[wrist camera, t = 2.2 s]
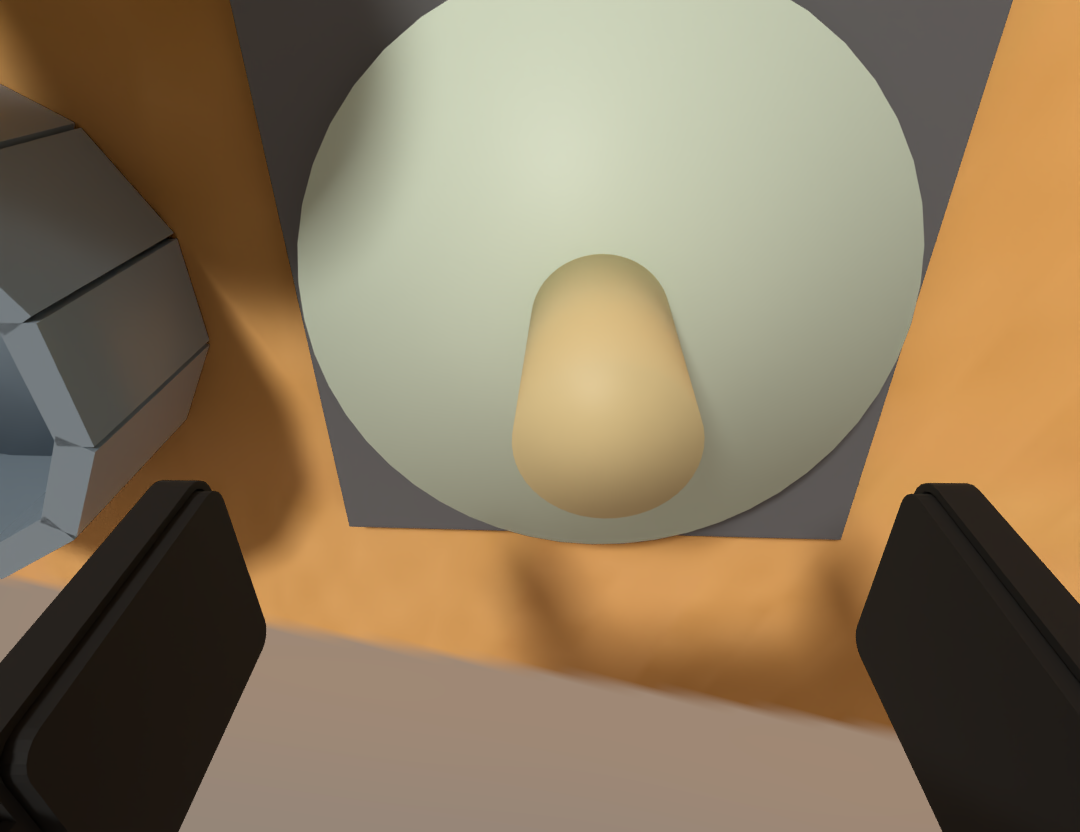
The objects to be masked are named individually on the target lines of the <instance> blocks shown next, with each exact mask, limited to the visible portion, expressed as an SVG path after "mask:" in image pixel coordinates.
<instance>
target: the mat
mask: <svg viewBox="0 0 1080 832" xmlns="http://www.w3.org/2000/svg"><path fill="white" fill-rule="evenodd" d="M446 1H447V0H230V4H231V8H232V12H233V17H234V21H235V26H236V30H237V34H238V39H239V43H240V48H241V52H242V56H243V61H244V65H245V70H246V74H247V78H248V83H249V87H250V91H251V96H252V100H253V105H254V109H255V113H256V118H257V122H258V127H259V131H260V135H261V140H262V144H263V149H264V153H265V157H266V162H267V166H268V170H269V175H270V179H271V184H272V188H273V192H274V197H275V201H276V206H277V210H278V214H279V219H280V223H281V228H282V232H283V236H284V241H285V245H286V249H287V254H288V258H289V263H290V267H291V271H292V276H293V280H294V285H295V289H296V293H297V298H298V302H299V307H300V311H301V315H302V320H303V324H304V328H305V333H306V337H307V342H308V346H309V350H310V355H311V359H312V364H313V368H314V372H315V377H316V381H317V386H318V390H319V394H320V399H321V403H322V408H323V412H324V416H325V421H326V425H327V429H328V434H329V438H330V443H331V447H332V451H333V456H334V460H335V465H336V469H337V473H338V478H339V482H340V487H341V491H342V495H343V500H344V504H345V508H346V513H347V517H348V522H349V526H352V527H389V528H427V529H464V530H501V531H508V530H504V529H501V528H498V527H495V526H492V525H490V524H487V523H485V522H482V521H479V520H477V519H474V518H472V517H469V516H467V515H465V514H463V513H461V512H459V511H457V510H455V509H453V508H452V507H450V506H448V505H446V504H444V503H442V502H440V501H439V500H437V499H435V498H434V497H432V496H431V495H429V494H428V493H426V492H425V491H423V490H422V489H420V488H419V487H417V486H415V485H414V484H413V483H412V482H410V481H409V480H408V479H407V478H405V477H404V476H403V475H402V474H401V473H399V472H398V471H397V470H396V469H394V468H393V467H392V466H391V465H390V464H388V463H387V461H386V460H385V459H384V458H383V457H382V456H381V455H380V454H379V453H378V452H377V451H376V450H375V449H374V448H373V447H372V446H371V445H370V444H369V443H368V442H367V441H366V440H365V439H364V437H363V436H362V435H361V433H360V432H359V431H358V429H357V428H356V427H355V426H354V424H353V423H352V422H351V420H350V419H349V418H348V417H347V415H346V414H345V412H344V411H343V409H342V407H341V406H340V404H339V402H338V400H337V399H336V397H335V395H334V394H333V392H332V390H331V389H330V387H329V385H328V383H327V381H326V379H325V376H324V374H323V372H322V370H321V367H320V365H319V363H318V361H317V358H316V356H315V354H314V351H313V347H312V344H311V341H310V337H309V334H308V331H307V327H306V324H305V320H304V315H303V309H302V303H301V296H300V290H299V284H298V246H297V243H298V235H299V227H300V218H301V210H302V203H303V199H304V195H305V192H306V188H307V184H308V180H309V177H310V173H311V169H312V165H313V162H314V160H315V158H316V155H317V153H318V151H319V148H320V146H321V144H322V141H323V139H324V137H325V134H326V132H327V130H328V128H329V125H330V123H331V122H332V120H333V118H334V117H335V115H336V113H337V112H338V110H339V109H340V107H341V105H342V104H343V102H344V100H345V99H346V97H347V96H348V94H349V92H350V91H351V89H352V87H353V86H354V85H355V83H356V82H357V81H358V80H359V79H360V77H361V76H362V75H363V74H364V73H365V72H366V70H367V69H368V68H369V67H370V66H371V64H372V63H373V62H374V61H375V60H376V59H377V57H378V56H379V55H380V54H381V53H382V51H383V50H384V49H385V48H386V47H388V46H389V45H390V44H391V43H392V42H393V41H394V40H396V39H397V38H398V37H399V36H400V35H401V34H402V33H404V32H405V31H406V30H407V29H408V28H409V27H410V26H412V25H413V24H414V23H415V22H416V21H417V20H418V19H420V18H421V17H422V16H424V15H425V14H427V13H428V12H430V11H432V10H433V9H435V8H436V7H438V6H439V5H441V4H443V3H444V2H446ZM791 1H793V2H795V3H796V4H798V5H800V6H801V7H803V8H804V9H806V10H808V11H809V12H810V13H811V14H812V15H814V16H815V17H816V18H817V19H818V20H819V21H820V22H822V23H823V24H824V25H825V26H826V27H827V28H829V29H830V30H831V31H832V32H833V33H834V34H835V35H837V36H838V37H839V38H840V39H841V40H842V41H843V42H845V43H846V45H847V46H848V47H849V48H850V50H851V51H852V52H853V53H854V54H855V56H856V57H857V58H858V59H859V61H860V62H861V63H862V64H863V65H864V67H865V68H866V69H867V70H868V71H869V73H870V74H871V75H872V76H873V78H874V79H875V80H876V82H877V84H878V85H879V87H880V89H881V91H882V92H883V94H884V96H885V98H886V99H887V101H888V103H889V105H890V106H891V108H892V110H893V111H894V113H895V115H896V117H897V118H898V121H899V123H900V126H901V129H902V131H903V134H904V137H905V139H906V142H907V144H908V147H909V150H910V152H911V155H912V158H913V160H914V165H915V170H916V175H917V180H918V184H919V189H920V194H921V199H922V206H923V227H924V254H923V264H922V274H921V285H920V289H921V286H922V283H923V280H924V277H925V274H926V271H927V267H928V264H929V261H930V258H931V255H932V252H933V249H934V246H935V242H936V239H937V236H938V233H939V230H940V227H941V224H942V220H943V217H944V214H945V211H946V208H947V205H948V202H949V199H950V195H951V192H952V189H953V186H954V183H955V180H956V177H957V174H958V170H959V167H960V164H961V161H962V158H963V155H964V152H965V148H966V145H967V142H968V139H969V136H970V133H971V130H972V127H973V123H974V120H975V117H976V114H977V111H978V108H979V105H980V102H981V98H982V95H983V92H984V89H985V86H986V83H987V80H988V76H989V73H990V70H991V67H992V64H993V61H994V58H995V55H996V51H997V48H998V45H999V42H1000V39H1001V36H1002V33H1003V29H1004V26H1005V23H1006V20H1007V17H1008V14H1009V11H1010V8H1011V4H1012V1H1013V0H791ZM920 289H919V293H920ZM919 293H918V296H919ZM917 299H918V297H917ZM901 349H902V348H901ZM900 352H901V351H900ZM899 355H900V354H899ZM898 358H899V356H898ZM897 361H898V359H897ZM897 361H896V363H895V365H894V366H893V368H892V370H891V372H890V374H889V376H888V377H887V379H886V381H885V383H884V385H883V387H882V388H881V390H880V392H879V394H878V395H877V396H876V398H875V399H874V401H873V402H872V403H871V405H870V406H869V408H868V409H867V410H866V412H865V413H864V415H863V416H862V417H861V419H860V420H859V422H858V423H857V424H856V425H855V426H854V427H853V429H852V430H851V431H850V432H849V433H848V434H847V435H846V436H845V437H844V438H843V440H842V441H841V442H840V443H839V444H838V445H837V446H836V447H835V448H834V449H833V450H832V451H831V452H830V453H829V454H828V455H827V456H826V457H824V458H823V459H822V460H821V461H820V462H819V463H818V464H816V465H815V466H814V467H813V468H812V469H811V470H810V471H808V472H807V473H806V474H805V475H803V476H802V477H800V478H799V479H798V480H796V481H795V482H793V483H792V484H790V485H789V486H788V487H786V488H785V489H783V490H782V491H781V492H779V493H777V494H776V495H774V496H772V497H770V498H769V499H767V500H765V501H763V502H761V503H760V504H758V505H756V506H754V507H753V508H751V509H749V510H747V511H744V512H742V513H740V514H737V515H735V516H733V517H730V518H728V519H726V520H724V521H721V522H719V523H716V524H713V525H710V526H707V527H704V528H700V529H697V530H694V531H691V532H688V533H684V534H679V535H686V536H723V537H760V538H797V539H834V540H841V537H842V534H843V531H844V527H845V524H846V521H847V518H848V515H849V512H850V509H851V505H852V502H853V499H854V496H855V493H856V490H857V487H858V484H859V480H860V477H861V474H862V471H863V468H864V465H865V462H866V458H867V455H868V452H869V449H870V446H871V443H872V440H873V437H874V433H875V430H876V427H877V424H878V421H879V418H880V415H881V412H882V408H883V405H884V402H885V399H886V396H887V393H888V390H889V386H890V383H891V380H892V377H893V374H894V371H895V368H896V365H897Z"/></svg>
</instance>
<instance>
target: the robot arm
mask: <svg viewBox="0 0 1080 832" xmlns="http://www.w3.org/2000/svg"><path fill="white" fill-rule="evenodd" d="M265 638H266V623H265V619H264V616H263V614H262V611H261V608H260V605H259V602H258V599H257V596H256V593H255V590H254V587H253V584H252V581H251V578H250V576H249V573H248V570H247V567H246V564H245V561H244V558H243V555H242V552H241V549H240V546H239V543H238V541H237V538H236V535H235V532H234V529H233V526H232V523H231V520H230V517H229V514H228V511H227V508H226V505H225V503H224V500H223V498H222V496H221V494H220V493H219V492H216V491H211V489H210V487H209V485H208V484H207V483H206V482H204V481H180V480H162V481H158V482H156V483H154V484H153V485H152V486H151V487H150V488H149V489H148V490H147V491H146V493H145V494H144V495H143V496H142V497H141V498H140V500H139V501H138V502H137V503H136V504H135V506H134V507H133V508H132V509H131V510H130V511H129V513H128V514H127V515H126V516H125V517H124V518H123V520H122V521H121V522H120V523H119V524H118V525H117V527H116V528H115V529H114V530H113V531H112V532H111V534H110V535H109V536H108V537H107V538H106V540H105V541H104V542H103V543H102V544H101V545H100V547H99V548H98V549H97V550H96V551H95V552H94V554H93V555H92V556H91V557H90V558H89V559H88V561H87V562H86V563H85V564H84V565H83V566H82V568H81V569H80V570H79V571H78V572H77V574H76V575H75V576H74V577H73V578H72V579H71V581H70V582H69V583H68V584H67V585H66V586H65V588H64V589H63V590H62V591H61V592H60V593H59V595H58V596H57V597H56V598H55V599H54V600H53V602H52V603H51V604H50V605H49V606H48V608H47V609H46V610H45V611H44V612H43V613H42V615H41V616H40V617H39V618H38V619H37V620H36V622H35V623H34V624H33V625H32V626H31V628H30V629H29V630H28V631H27V632H26V633H25V635H24V636H23V637H22V638H21V639H20V640H19V642H18V643H17V644H16V645H15V646H14V648H13V649H12V650H11V651H10V652H9V653H8V654H7V656H6V657H5V658H4V659H3V660H2V662H1V663H0V832H178V831H179V829H180V827H181V825H182V823H183V821H184V818H185V816H186V814H187V812H188V810H189V807H190V805H191V803H192V801H193V799H194V797H195V794H196V792H197V790H198V788H199V786H200V784H201V782H202V779H203V777H204V775H205V773H206V771H207V768H208V766H209V764H210V762H211V760H212V758H213V755H214V753H215V751H216V749H217V747H218V745H219V742H220V740H221V738H222V736H223V734H224V732H225V729H226V727H227V725H228V723H229V721H230V719H231V716H232V714H233V712H234V710H235V707H236V706H237V703H238V701H239V699H240V697H241V695H242V693H243V690H244V688H245V686H246V684H247V682H248V680H249V677H250V675H251V673H252V671H253V669H254V667H255V664H256V662H257V659H258V658H259V655H260V653H261V651H262V649H263V646H264V643H265ZM856 644H857V648H858V652H859V654H860V657H861V659H862V661H863V663H864V665H865V668H866V670H867V672H868V674H869V676H870V678H871V680H872V682H873V685H874V687H875V689H876V691H877V693H878V695H879V697H880V699H881V702H882V704H883V706H884V708H885V710H886V712H887V714H888V717H889V719H890V721H891V723H892V725H893V727H894V729H895V731H896V734H897V736H898V738H899V740H900V742H901V744H902V746H903V748H904V751H905V753H906V755H907V757H908V759H909V761H910V763H911V765H912V768H913V770H914V772H915V774H916V776H917V778H918V780H919V783H920V785H921V786H922V789H923V791H924V793H925V795H926V797H927V800H928V802H929V804H930V806H931V808H932V810H933V812H934V814H935V817H936V819H937V821H938V823H939V825H940V827H941V829H942V832H1080V604H1079V603H1078V602H1077V601H1076V600H1075V599H1074V597H1073V596H1072V595H1071V594H1070V593H1069V592H1068V591H1067V589H1066V588H1065V587H1064V586H1063V585H1062V584H1061V583H1060V581H1059V580H1058V579H1057V578H1056V577H1055V576H1054V575H1053V574H1052V572H1051V571H1050V570H1049V569H1048V568H1047V567H1046V566H1045V564H1044V563H1043V562H1042V561H1041V560H1040V559H1039V558H1038V556H1037V555H1036V554H1035V553H1034V552H1033V551H1032V550H1031V548H1030V547H1029V546H1028V545H1027V544H1026V543H1025V542H1024V541H1023V539H1022V538H1021V537H1020V536H1019V535H1018V534H1017V533H1016V531H1015V530H1014V529H1013V528H1012V527H1011V526H1010V525H1009V523H1008V522H1007V521H1006V520H1005V519H1004V518H1003V517H1002V516H1001V514H1000V513H999V512H998V511H997V510H996V509H995V508H994V506H993V505H992V504H991V503H990V502H989V501H988V500H987V498H986V497H985V496H984V495H983V494H982V493H981V492H980V491H979V490H978V489H977V488H976V487H975V486H974V485H971V484H967V483H925V484H921V485H920V486H919V487H918V488H917V489H916V491H915V493H914V494H909V495H906V496H905V497H904V499H903V501H902V503H901V505H900V508H899V511H898V514H897V516H896V519H895V522H894V525H893V528H892V530H891V533H890V536H889V539H888V542H887V544H886V547H885V550H884V553H883V556H882V558H881V561H880V564H879V567H878V570H877V572H876V575H875V578H874V581H873V583H872V586H871V589H870V592H869V595H868V597H867V600H866V603H865V606H864V609H863V611H862V614H861V617H860V620H859V623H858V625H857V629H856Z"/></svg>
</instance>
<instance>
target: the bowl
mask: <svg viewBox="0 0 1080 832" xmlns="http://www.w3.org/2000/svg"><path fill="white" fill-rule="evenodd" d="M74 126H75V123H74V122H72V121H70V120H69V119H67V118H65V117H63V116H61V115H59V114H57V113H55V112H53V111H51V110H49V109H47V108H45V107H44V106H42V105H40V104H38V103H36V102H34V101H32V100H30V99H28V98H26V97H24V96H22V95H20V94H19V93H17V92H15V91H13V90H11V89H9V88H7V87H5V86H3V85H1V84H0V578H1V579H3V578H5V577H7V576H9V575H11V574H12V573H14V572H16V571H18V570H20V569H22V568H23V567H25V566H27V565H29V564H31V563H33V562H34V561H36V560H38V559H40V558H42V557H44V556H45V555H47V554H49V553H51V552H53V551H55V550H56V549H58V548H60V547H62V546H64V545H66V544H67V543H69V542H71V541H73V540H74V539H75V538H76V537H77V536H78V535H79V534H80V533H81V532H82V531H83V530H84V529H85V528H86V527H87V526H88V524H89V523H90V522H91V521H92V520H93V519H94V518H95V517H96V516H97V515H98V514H99V513H100V512H101V510H102V509H103V508H104V507H105V506H106V505H107V504H108V503H109V502H110V501H111V500H112V499H113V498H114V497H115V495H116V494H117V493H118V492H119V491H120V490H121V489H122V488H123V487H124V486H125V485H126V484H127V483H128V481H129V480H130V479H131V478H132V477H133V476H134V475H135V474H136V473H137V472H138V471H139V470H140V469H141V468H142V466H143V465H144V464H145V463H146V462H147V461H148V460H149V459H150V458H151V457H152V456H153V455H154V454H155V452H156V451H157V450H158V449H159V448H160V447H161V446H162V445H163V444H164V443H165V442H166V441H167V440H168V438H169V437H170V436H171V435H172V434H173V433H174V432H175V431H176V430H177V429H178V428H179V427H180V426H181V425H182V423H183V422H184V421H185V420H186V419H187V416H188V413H189V410H190V407H191V403H192V400H193V397H194V394H195V390H196V387H197V384H198V381H199V377H200V374H201V371H202V368H203V364H204V361H205V358H206V355H207V351H208V348H209V344H207V342H208V341H209V338H208V334H207V331H206V328H205V325H204V322H203V319H202V316H201V312H200V309H199V306H198V303H197V300H196V297H195V294H194V290H193V287H192V284H191V281H190V278H189V275H188V271H187V268H186V265H185V262H184V259H183V256H182V253H181V249H180V246H179V243H178V240H177V239H166V238H168V237H169V236H171V235H172V234H173V232H172V230H171V229H170V228H169V227H168V226H167V225H166V224H165V222H164V221H163V220H162V219H161V218H160V217H159V216H158V214H157V213H156V212H155V211H154V210H153V209H152V208H151V207H150V205H149V204H148V203H147V202H146V201H145V200H144V199H143V197H142V196H141V195H140V194H139V193H138V192H137V191H136V190H135V188H134V187H133V186H132V185H131V184H130V183H129V182H128V180H127V179H126V178H125V177H124V176H123V175H122V174H121V172H120V171H119V170H118V169H117V168H116V167H115V166H114V165H113V163H112V162H111V161H110V160H109V159H108V158H107V157H106V155H105V154H104V153H103V152H102V151H101V150H100V149H99V148H98V146H97V145H96V144H95V143H94V142H93V141H92V140H91V138H90V137H89V136H88V135H87V134H86V133H85V132H84V130H83V129H82V128H78V129H74Z"/></svg>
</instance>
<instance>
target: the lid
mask: <svg viewBox="0 0 1080 832" xmlns="http://www.w3.org/2000/svg"><path fill="white" fill-rule="evenodd" d="M297 246H298V284H299V290H300V296H301V303H302V309H303V315H304V320H305V324H306V327H307V331H308V334H309V337H310V341H311V344H312V347H313V351H314V354H315V356H316V358H317V361H318V363H319V365H320V367H321V370H322V372H323V374H324V376H325V379H326V381H327V383H328V385H329V387H330V389H331V390H332V392H333V394H334V395H335V397H336V399H337V400H338V402H339V404H340V406H341V407H342V409H343V411H344V412H345V414H346V415H347V417H348V418H349V419H350V420H351V422H352V423H353V424H354V426H355V427H356V428H357V429H358V431H359V432H360V433H361V435H362V436H363V437H364V439H365V440H366V441H367V442H368V443H369V444H370V445H371V446H372V447H373V448H374V449H375V450H376V451H377V452H378V453H379V454H380V455H381V456H382V457H383V458H384V459H385V460H386V461H387V463H388V464H390V465H391V466H392V467H393V468H394V469H396V470H397V471H398V472H399V473H401V474H402V475H403V476H404V477H405V478H407V479H408V480H409V481H410V482H412V483H413V484H414V485H415V486H417V487H419V488H420V489H422V490H423V491H425V492H426V493H428V494H429V495H431V496H432V497H434V498H435V499H437V500H439V501H440V502H442V503H444V504H446V505H448V506H450V507H452V508H453V509H455V510H457V511H459V512H461V513H463V514H465V515H467V516H469V517H472V518H474V519H477V520H479V521H482V522H485V523H487V524H490V525H492V526H495V527H498V528H501V529H504V530H508V531H511V532H515V533H519V534H522V535H526V536H530V537H536V538H541V539H547V540H553V541H559V542H570V543H583V544H620V543H631V542H640V541H648V540H656V539H661V538H665V537H670V536H675V535H679V534H684V533H688V532H691V531H694V530H697V529H700V528H704V527H707V526H710V525H713V524H716V523H719V522H721V521H724V520H726V519H728V518H730V517H733V516H735V515H737V514H740V513H742V512H744V511H747V510H749V509H751V508H753V507H754V506H756V505H758V504H760V503H761V502H763V501H765V500H767V499H769V498H770V497H772V496H774V495H776V494H777V493H779V492H781V491H782V490H783V489H785V488H786V487H788V486H789V485H790V484H792V483H793V482H795V481H796V480H798V479H799V478H800V477H802V476H803V475H805V474H806V473H807V472H808V471H810V470H811V469H812V468H813V467H814V466H815V465H816V464H818V463H819V462H820V461H821V460H822V459H823V458H824V457H826V456H827V455H828V454H829V453H830V452H831V451H832V450H833V449H834V448H835V447H836V446H837V445H838V444H839V443H840V442H841V441H842V440H843V438H844V437H845V436H846V435H847V434H848V433H849V432H850V431H851V430H852V429H853V427H854V426H855V425H856V424H857V423H858V422H859V420H860V419H861V417H862V416H863V415H864V413H865V412H866V410H867V409H868V408H869V406H870V405H871V403H872V402H873V401H874V399H875V398H876V396H877V395H878V394H879V392H880V390H881V388H882V387H883V385H884V383H885V381H886V379H887V377H888V376H889V374H890V372H891V370H892V368H893V366H894V365H895V363H896V361H897V359H898V356H899V354H900V351H901V348H902V346H903V343H904V341H905V338H906V336H907V333H908V331H909V328H910V325H911V322H912V318H913V314H914V310H915V306H916V302H917V297H918V293H919V289H920V285H921V274H922V264H923V254H924V227H923V206H922V199H921V194H920V189H919V184H918V180H917V175H916V170H915V165H914V160H913V158H912V155H911V152H910V150H909V147H908V144H907V142H906V139H905V137H904V134H903V131H902V129H901V126H900V123H899V121H898V118H897V117H896V115H895V113H894V111H893V110H892V108H891V106H890V105H889V103H888V101H887V99H886V98H885V96H884V94H883V92H882V91H881V89H880V87H879V85H878V84H877V82H876V80H875V79H874V78H873V76H872V75H871V74H870V73H869V71H868V70H867V69H866V68H865V67H864V65H863V64H862V63H861V62H860V61H859V59H858V58H857V57H856V56H855V54H854V53H853V52H852V51H851V50H850V48H849V47H848V46H847V45H846V43H845V42H843V41H842V40H841V39H840V38H839V37H838V36H837V35H835V34H834V33H833V32H832V31H831V30H830V29H829V28H827V27H826V26H825V25H824V24H823V23H822V22H820V21H819V20H818V19H817V18H816V17H815V16H814V15H812V14H811V13H810V12H809V11H808V10H806V9H804V8H803V7H801V6H800V5H798V4H796V3H795V2H793V1H791V0H447V1H446V2H444V3H443V4H441V5H439V6H438V7H436V8H435V9H433V10H432V11H430V12H428V13H427V14H425V15H424V16H422V17H421V18H420V19H418V20H417V21H416V22H415V23H414V24H413V25H412V26H410V27H409V28H408V29H407V30H406V31H405V32H404V33H402V34H401V35H400V36H399V37H398V38H397V39H396V40H394V41H393V42H392V43H391V44H390V45H389V46H388V47H386V48H385V49H384V50H383V51H382V53H381V54H380V55H379V56H378V57H377V59H376V60H375V61H374V62H373V63H372V64H371V66H370V67H369V68H368V69H367V70H366V72H365V73H364V74H363V75H362V76H361V77H360V79H359V80H358V81H357V82H356V83H355V85H354V86H353V87H352V89H351V91H350V92H349V94H348V96H347V97H346V99H345V100H344V102H343V104H342V105H341V107H340V109H339V110H338V112H337V113H336V115H335V117H334V118H333V120H332V122H331V123H330V125H329V128H328V130H327V132H326V134H325V137H324V139H323V141H322V144H321V146H320V148H319V151H318V153H317V155H316V158H315V160H314V162H313V165H312V169H311V173H310V177H309V180H308V184H307V188H306V192H305V195H304V199H303V203H302V210H301V218H300V227H299V235H298V243H297Z"/></svg>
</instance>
